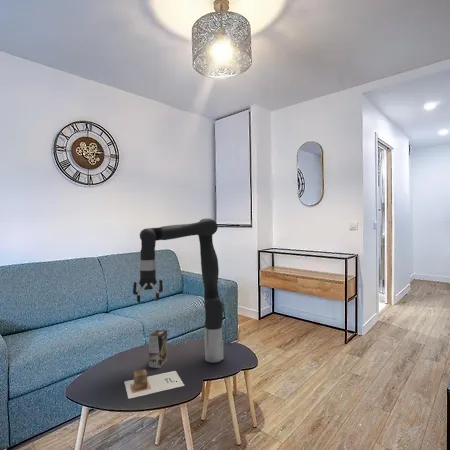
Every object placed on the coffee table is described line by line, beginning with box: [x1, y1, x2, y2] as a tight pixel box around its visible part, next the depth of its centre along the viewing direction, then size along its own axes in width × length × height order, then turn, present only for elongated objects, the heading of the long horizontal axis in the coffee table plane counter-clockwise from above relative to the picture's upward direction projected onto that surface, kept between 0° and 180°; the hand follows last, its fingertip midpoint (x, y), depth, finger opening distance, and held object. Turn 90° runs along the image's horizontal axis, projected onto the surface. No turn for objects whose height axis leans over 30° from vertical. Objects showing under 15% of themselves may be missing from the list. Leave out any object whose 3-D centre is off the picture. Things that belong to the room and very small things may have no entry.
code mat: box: [124, 370, 185, 399], centre depth 135 cm, size 24×15×1 cm, turn 115°
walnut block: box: [133, 369, 148, 390], centre depth 133 cm, size 5×5×6 cm
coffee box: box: [148, 329, 168, 369], centre depth 155 cm, size 9×6×16 cm
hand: (148, 301), depth 148 cm, fingers open, 8 cm apart
